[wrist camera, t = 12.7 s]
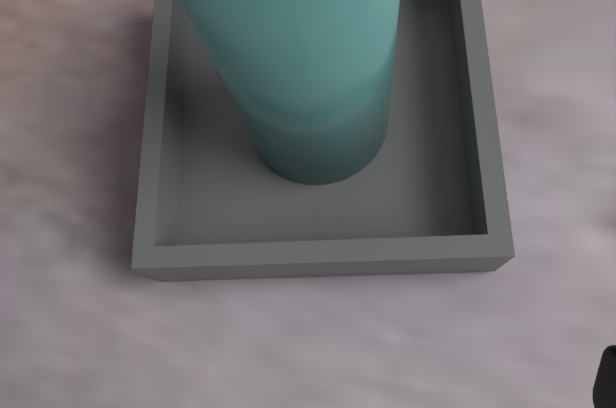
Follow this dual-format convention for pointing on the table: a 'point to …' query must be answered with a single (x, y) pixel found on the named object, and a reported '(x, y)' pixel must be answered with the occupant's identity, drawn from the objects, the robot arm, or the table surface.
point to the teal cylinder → (304, 78)
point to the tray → (330, 197)
